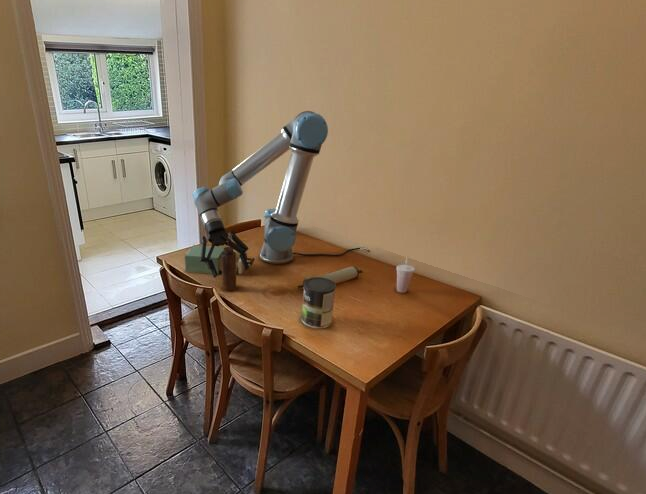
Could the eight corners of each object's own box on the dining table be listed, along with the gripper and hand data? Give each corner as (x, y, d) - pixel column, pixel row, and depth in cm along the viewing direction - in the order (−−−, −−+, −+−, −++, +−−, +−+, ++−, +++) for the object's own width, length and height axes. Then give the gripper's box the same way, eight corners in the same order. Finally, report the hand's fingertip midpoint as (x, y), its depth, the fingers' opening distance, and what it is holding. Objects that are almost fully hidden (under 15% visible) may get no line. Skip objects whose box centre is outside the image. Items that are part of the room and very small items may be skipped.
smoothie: (410, 288, 161) (416, 255, 155) (410, 295, 155) (417, 261, 149) (392, 285, 163) (398, 253, 157) (392, 292, 157) (398, 259, 151)
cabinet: (225, 262, 185) (225, 247, 182) (218, 274, 174) (217, 257, 170) (194, 260, 188) (194, 244, 184) (185, 271, 177) (184, 255, 173)
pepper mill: (237, 286, 164) (237, 246, 157) (234, 292, 159) (233, 251, 152) (224, 284, 165) (223, 245, 158) (221, 290, 160) (219, 250, 153)
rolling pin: (301, 296, 156) (302, 284, 153) (293, 290, 160) (293, 278, 158) (366, 278, 169) (367, 267, 167) (356, 273, 173) (358, 262, 171)
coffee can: (305, 329, 135) (307, 291, 129) (298, 313, 144) (300, 277, 138) (335, 328, 135) (339, 290, 129) (327, 312, 145) (330, 276, 139)
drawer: (255, 263, 181) (256, 251, 179) (250, 274, 171) (251, 262, 169) (217, 260, 185) (217, 248, 182) (210, 271, 175) (209, 258, 172)
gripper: (237, 223, 171) (256, 269, 165) (181, 234, 160) (199, 283, 154) (243, 214, 164) (263, 261, 159) (185, 224, 153) (204, 275, 148)
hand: (231, 272), depth 157 cm, fingers open, 13 cm apart
